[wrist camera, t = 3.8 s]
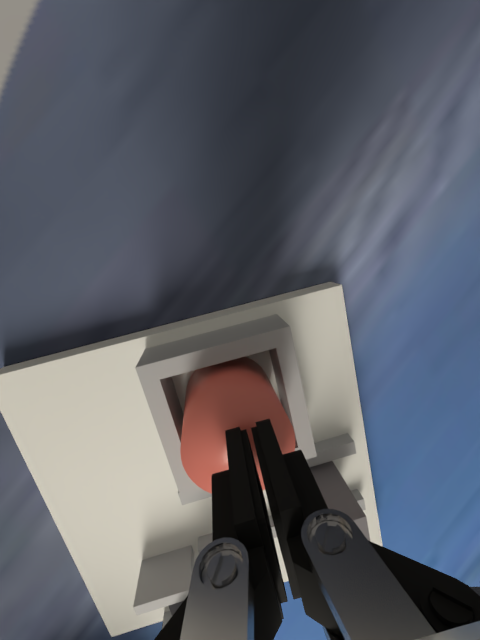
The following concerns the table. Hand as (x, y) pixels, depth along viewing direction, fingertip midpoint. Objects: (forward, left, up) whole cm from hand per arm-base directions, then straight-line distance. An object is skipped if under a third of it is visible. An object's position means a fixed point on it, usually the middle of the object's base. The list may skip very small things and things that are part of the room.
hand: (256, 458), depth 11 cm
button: (+1, 0, -5) cm, 5 cm away
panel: (+3, +5, -7) cm, 9 cm away
